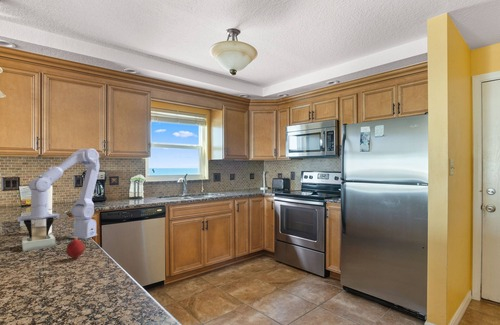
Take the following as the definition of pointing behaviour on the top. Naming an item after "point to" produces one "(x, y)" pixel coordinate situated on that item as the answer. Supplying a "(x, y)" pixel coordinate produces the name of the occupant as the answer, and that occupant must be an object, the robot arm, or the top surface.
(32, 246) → the dish
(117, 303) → the top surface
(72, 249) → the onion
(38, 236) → the block
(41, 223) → the cylindrical container
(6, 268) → the top surface
